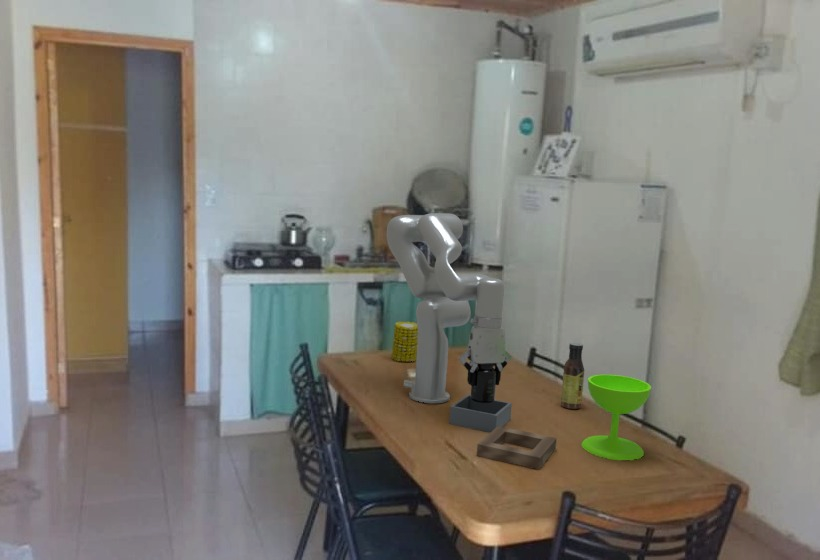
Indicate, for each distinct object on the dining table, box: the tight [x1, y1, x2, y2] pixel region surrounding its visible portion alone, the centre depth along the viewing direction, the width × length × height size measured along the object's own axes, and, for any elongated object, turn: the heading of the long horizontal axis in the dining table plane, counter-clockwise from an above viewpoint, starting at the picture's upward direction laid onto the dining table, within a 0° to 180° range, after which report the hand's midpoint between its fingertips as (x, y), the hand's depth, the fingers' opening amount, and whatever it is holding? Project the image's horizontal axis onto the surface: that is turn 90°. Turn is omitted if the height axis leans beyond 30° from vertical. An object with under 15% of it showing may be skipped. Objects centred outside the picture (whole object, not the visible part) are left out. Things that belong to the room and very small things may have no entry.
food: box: [391, 321, 418, 363], centre depth 276 cm, size 15×12×10 cm
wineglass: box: [581, 374, 652, 461], centre depth 197 cm, size 16×16×18 cm
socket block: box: [476, 426, 557, 470], centre depth 192 cm, size 16×16×3 cm
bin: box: [448, 394, 513, 433], centre depth 213 cm, size 14×14×5 cm
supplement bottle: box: [470, 364, 497, 403], centre depth 212 cm, size 7×7×12 cm
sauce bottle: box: [560, 342, 585, 410], centre depth 231 cm, size 7×6×20 cm
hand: (483, 383), depth 212 cm, fingers closed on supplement bottle, 6 cm apart
